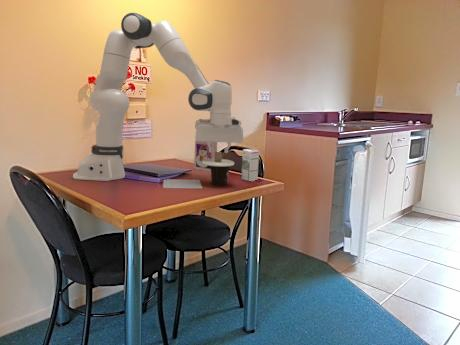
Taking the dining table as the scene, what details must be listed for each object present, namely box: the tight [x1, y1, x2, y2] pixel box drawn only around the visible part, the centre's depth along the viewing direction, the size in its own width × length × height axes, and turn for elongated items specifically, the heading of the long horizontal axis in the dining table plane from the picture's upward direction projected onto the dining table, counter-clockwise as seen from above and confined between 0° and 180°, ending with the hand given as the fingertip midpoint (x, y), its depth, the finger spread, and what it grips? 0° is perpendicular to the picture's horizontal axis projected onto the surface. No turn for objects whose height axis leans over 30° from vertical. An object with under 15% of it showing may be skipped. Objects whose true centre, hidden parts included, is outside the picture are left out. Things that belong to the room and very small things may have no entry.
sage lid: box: [202, 151, 235, 167], centre depth 170 cm, size 14×14×5 cm
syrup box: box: [240, 148, 260, 182], centre depth 186 cm, size 6×6×14 cm
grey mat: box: [162, 178, 203, 190], centre depth 171 cm, size 16×16×1 cm
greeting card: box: [193, 139, 218, 173], centre depth 205 cm, size 11×7×15 cm, turn 61°
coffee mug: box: [210, 166, 231, 187], centre depth 171 cm, size 12×9×10 cm
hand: (218, 152), depth 169 cm, fingers open, 5 cm apart
